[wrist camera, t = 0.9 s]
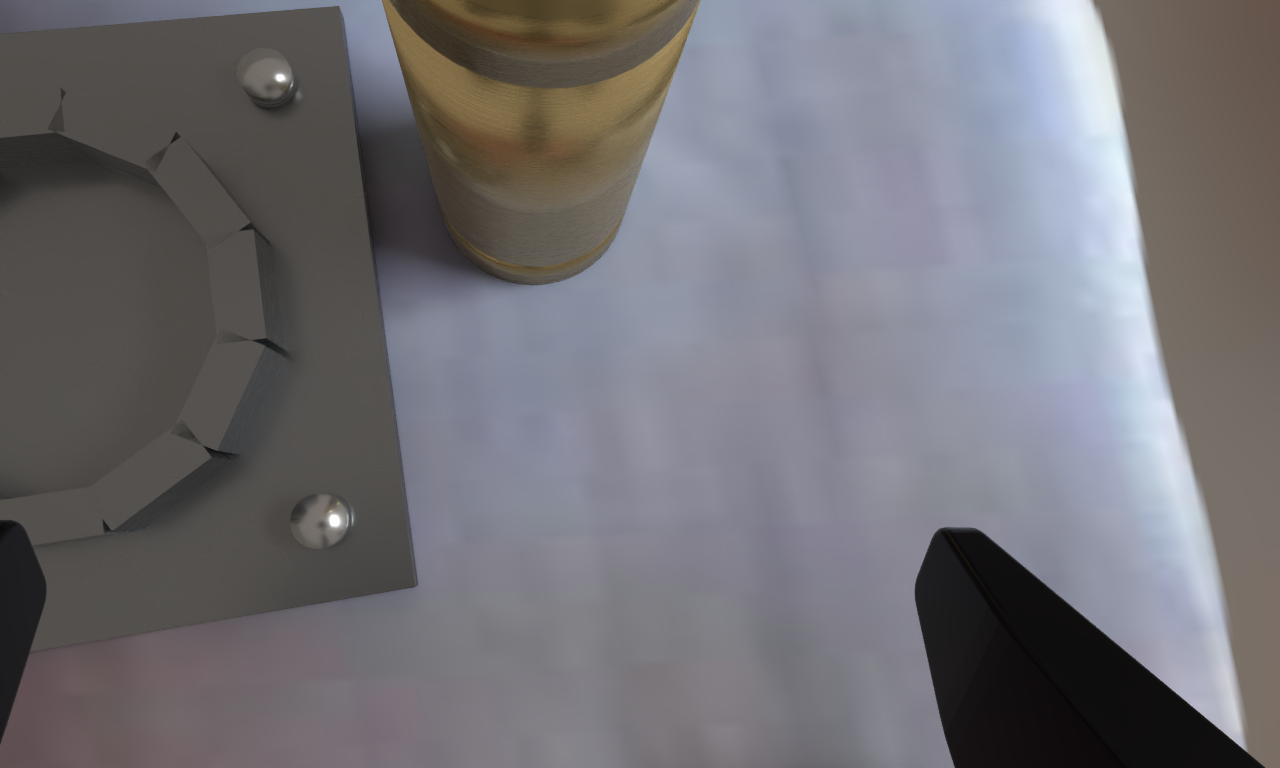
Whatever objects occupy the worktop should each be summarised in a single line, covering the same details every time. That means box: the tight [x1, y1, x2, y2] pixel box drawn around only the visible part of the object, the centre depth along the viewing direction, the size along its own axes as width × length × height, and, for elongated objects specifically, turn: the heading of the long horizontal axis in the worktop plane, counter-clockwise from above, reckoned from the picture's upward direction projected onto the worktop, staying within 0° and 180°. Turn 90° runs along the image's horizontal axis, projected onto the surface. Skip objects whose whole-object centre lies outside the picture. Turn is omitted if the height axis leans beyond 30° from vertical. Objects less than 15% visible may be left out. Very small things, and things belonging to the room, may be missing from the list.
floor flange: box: [0, 6, 418, 652], centre depth 21 cm, size 14×14×2 cm
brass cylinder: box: [382, 0, 700, 285], centre depth 17 cm, size 5×5×13 cm
